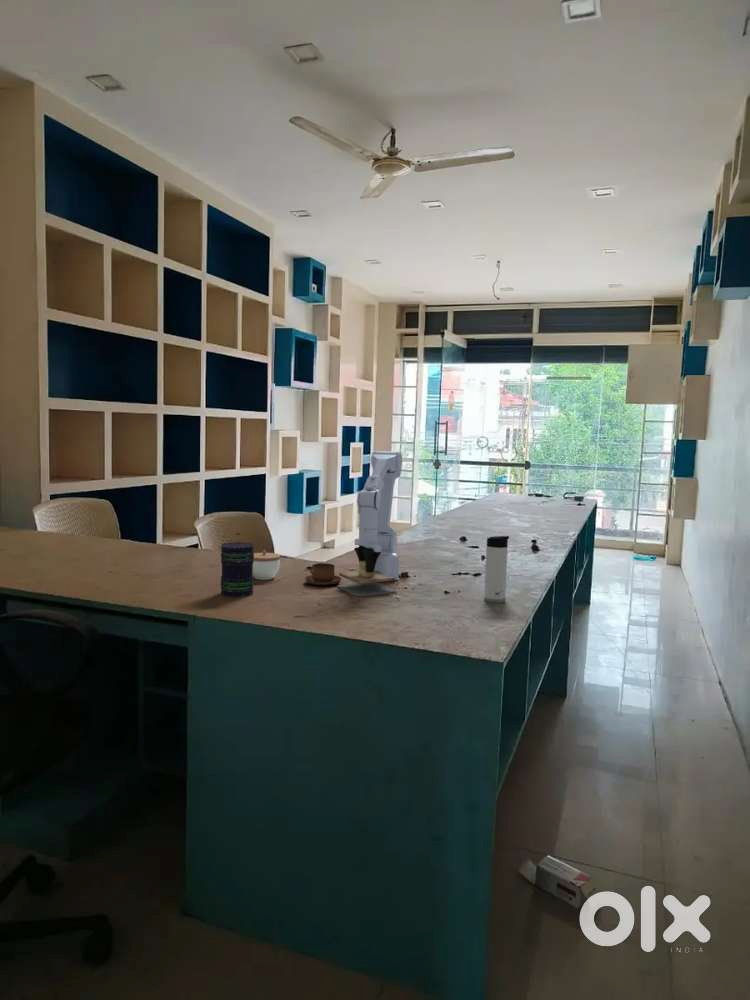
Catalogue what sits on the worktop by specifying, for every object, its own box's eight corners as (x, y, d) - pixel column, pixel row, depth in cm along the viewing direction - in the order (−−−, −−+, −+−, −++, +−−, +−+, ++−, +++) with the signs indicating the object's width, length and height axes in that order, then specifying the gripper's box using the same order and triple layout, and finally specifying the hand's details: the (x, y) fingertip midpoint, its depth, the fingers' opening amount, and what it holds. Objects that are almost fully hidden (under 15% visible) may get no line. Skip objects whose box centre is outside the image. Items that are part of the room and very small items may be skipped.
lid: (375, 572, 226) (375, 557, 225) (394, 580, 214) (395, 563, 214) (339, 575, 219) (339, 559, 219) (357, 583, 208) (358, 566, 208)
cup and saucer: (298, 585, 222) (298, 566, 221) (314, 578, 233) (314, 560, 232) (332, 589, 217) (332, 570, 217) (347, 582, 229) (347, 564, 228)
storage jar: (253, 597, 203) (254, 537, 202) (219, 597, 202) (220, 537, 200) (253, 589, 213) (254, 532, 212) (221, 590, 212) (221, 532, 210)
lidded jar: (273, 582, 225) (274, 554, 224) (242, 580, 227) (243, 552, 226) (284, 575, 235) (284, 548, 235) (254, 573, 238) (255, 547, 237)
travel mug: (501, 604, 203) (504, 537, 201) (480, 600, 207) (483, 535, 205) (509, 600, 208) (512, 535, 207) (489, 597, 212) (491, 533, 210)
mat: (375, 583, 226) (375, 582, 226) (396, 592, 214) (396, 591, 214) (337, 587, 220) (337, 585, 220) (356, 596, 208) (356, 594, 208)
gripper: (346, 525, 220) (345, 567, 221) (367, 532, 207) (366, 576, 208) (366, 524, 223) (365, 566, 224) (387, 531, 210) (386, 574, 212)
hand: (367, 570), depth 217 cm, fingers closed on lid, 4 cm apart
